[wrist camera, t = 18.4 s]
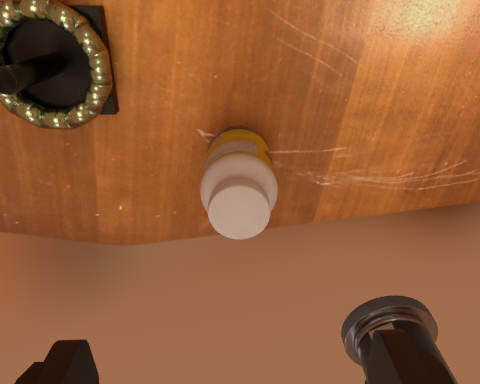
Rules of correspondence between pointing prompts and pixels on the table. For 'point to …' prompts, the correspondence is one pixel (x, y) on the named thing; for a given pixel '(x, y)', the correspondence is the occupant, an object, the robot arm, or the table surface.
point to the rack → (52, 63)
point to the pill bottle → (238, 183)
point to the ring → (50, 9)
